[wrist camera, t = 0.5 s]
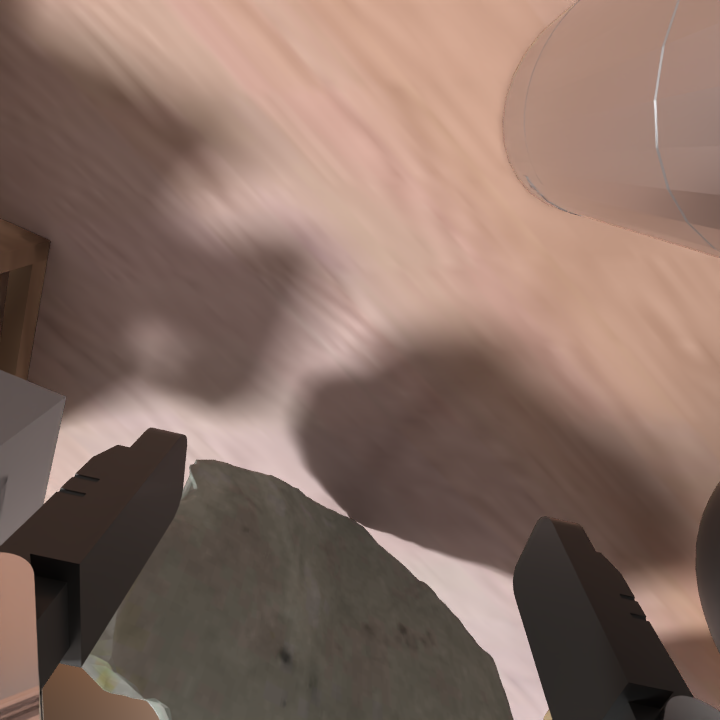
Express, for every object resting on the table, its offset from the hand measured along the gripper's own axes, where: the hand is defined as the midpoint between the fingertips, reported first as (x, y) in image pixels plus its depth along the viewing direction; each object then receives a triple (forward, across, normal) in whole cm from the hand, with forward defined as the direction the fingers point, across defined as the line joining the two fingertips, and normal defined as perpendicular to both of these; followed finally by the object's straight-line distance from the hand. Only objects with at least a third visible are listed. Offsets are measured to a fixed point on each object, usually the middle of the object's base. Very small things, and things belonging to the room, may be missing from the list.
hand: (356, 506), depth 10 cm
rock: (+18, -2, +16) cm, 25 cm away
